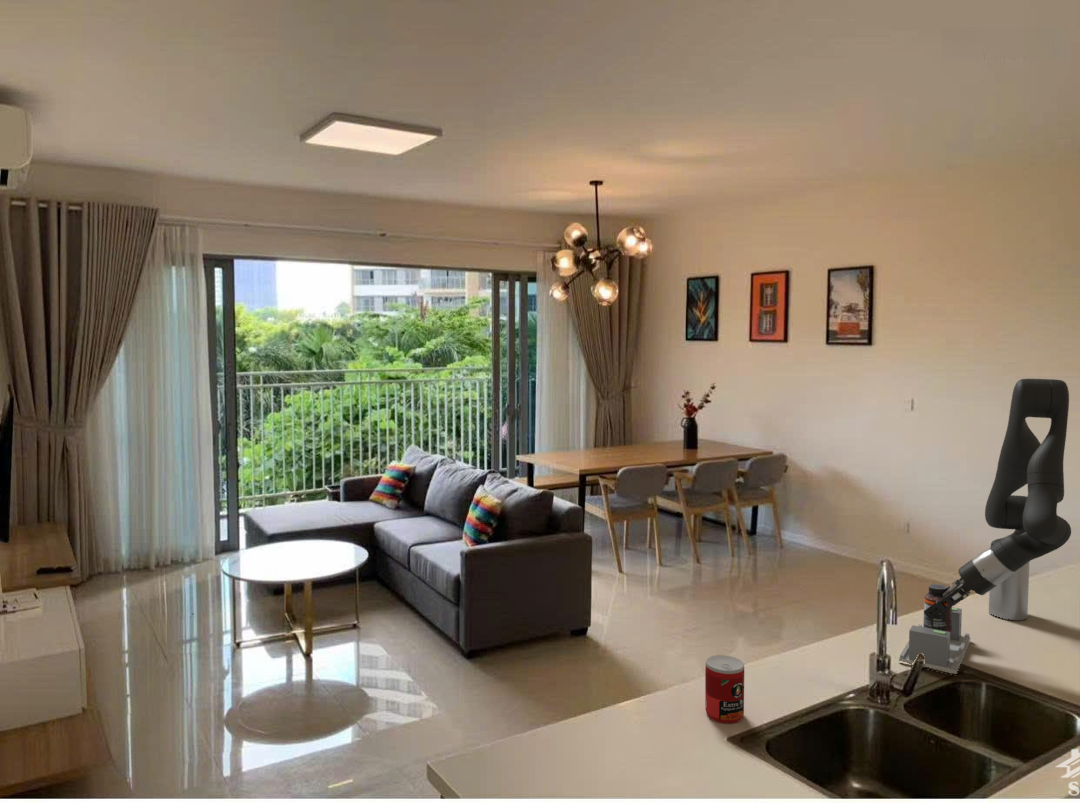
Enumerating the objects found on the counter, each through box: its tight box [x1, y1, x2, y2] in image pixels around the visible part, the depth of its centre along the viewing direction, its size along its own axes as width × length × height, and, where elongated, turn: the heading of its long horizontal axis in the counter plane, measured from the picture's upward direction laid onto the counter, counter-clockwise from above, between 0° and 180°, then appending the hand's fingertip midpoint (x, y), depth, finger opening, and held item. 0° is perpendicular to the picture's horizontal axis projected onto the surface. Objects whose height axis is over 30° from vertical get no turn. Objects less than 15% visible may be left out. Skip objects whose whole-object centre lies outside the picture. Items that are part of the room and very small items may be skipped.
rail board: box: [898, 606, 971, 674], centre depth 189 cm, size 24×12×8 cm, turn 145°
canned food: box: [704, 654, 745, 724], centre depth 159 cm, size 8×8×11 cm
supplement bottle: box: [923, 583, 953, 634], centre depth 189 cm, size 6×6×11 cm
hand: (929, 611), depth 190 cm, fingers closed on supplement bottle, 6 cm apart
